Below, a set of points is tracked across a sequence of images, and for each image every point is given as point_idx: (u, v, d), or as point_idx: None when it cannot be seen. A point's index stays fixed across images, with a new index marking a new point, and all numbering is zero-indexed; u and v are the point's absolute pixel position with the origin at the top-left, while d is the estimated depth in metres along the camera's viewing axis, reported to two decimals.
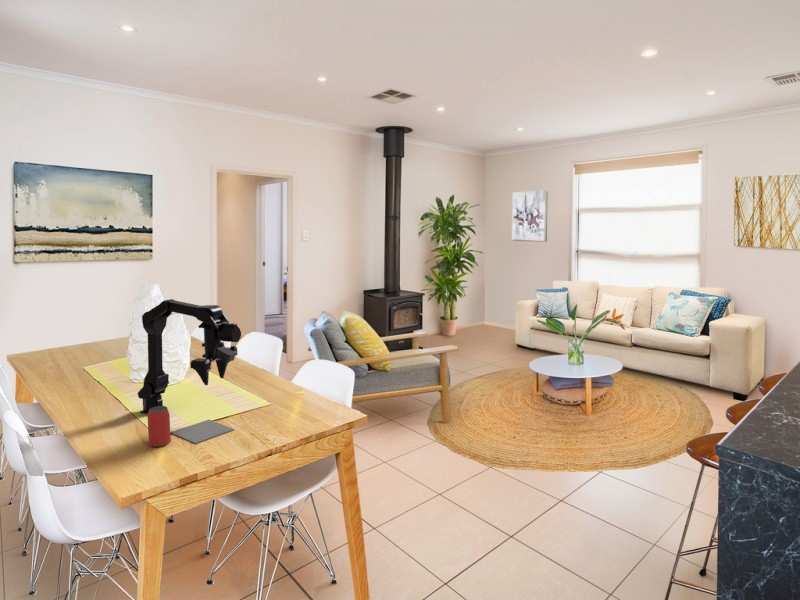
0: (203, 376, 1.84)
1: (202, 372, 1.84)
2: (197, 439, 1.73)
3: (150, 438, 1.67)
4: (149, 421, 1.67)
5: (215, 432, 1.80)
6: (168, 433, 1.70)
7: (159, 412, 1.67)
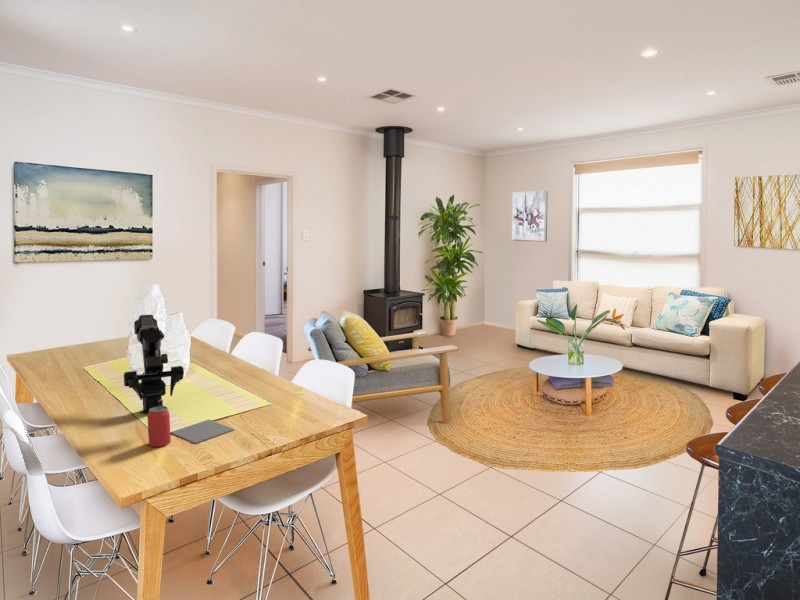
0: (136, 391, 1.74)
1: None
2: (197, 439, 1.73)
3: (150, 438, 1.67)
4: (149, 421, 1.67)
5: (215, 432, 1.80)
6: (168, 433, 1.70)
7: (159, 412, 1.67)
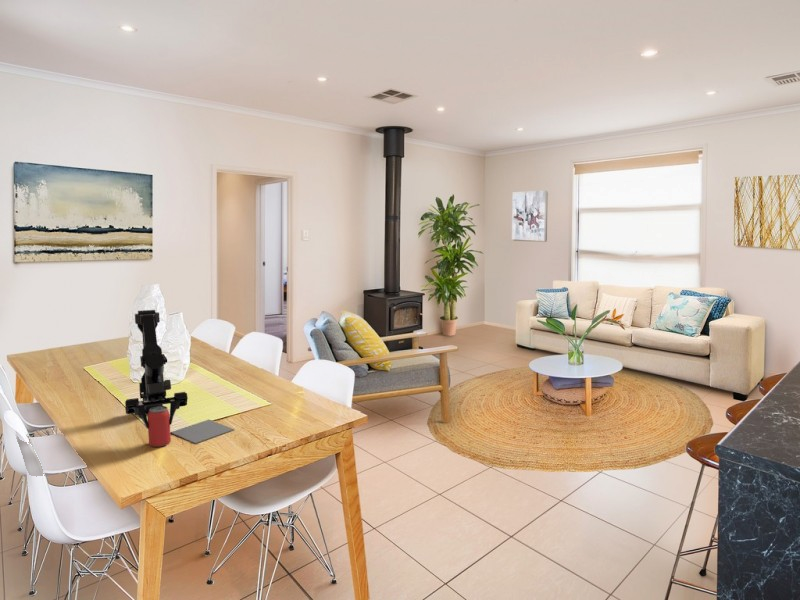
0: (142, 418, 1.68)
1: (142, 415, 1.69)
2: (197, 439, 1.73)
3: (150, 438, 1.67)
4: (149, 421, 1.67)
5: (215, 432, 1.80)
6: (168, 433, 1.70)
7: (159, 412, 1.67)
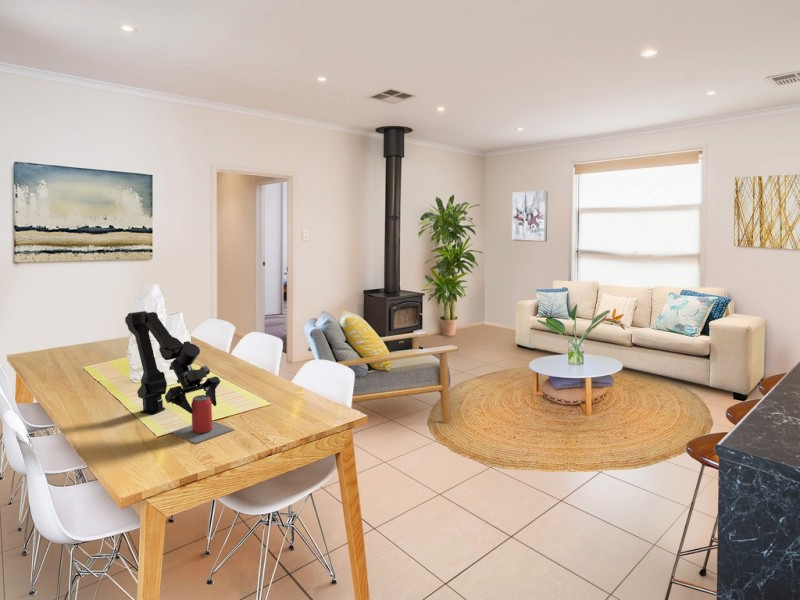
0: (184, 405, 1.75)
1: (181, 402, 1.76)
2: (197, 439, 1.73)
3: (197, 425, 1.77)
4: (196, 409, 1.76)
5: (215, 432, 1.80)
6: (211, 419, 1.81)
7: (206, 400, 1.78)
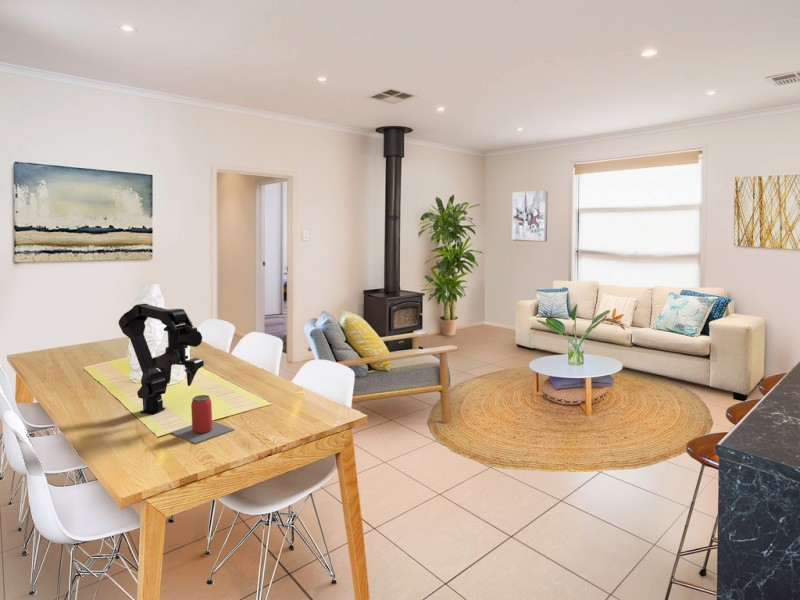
0: None
1: None
2: (197, 439, 1.73)
3: (197, 425, 1.77)
4: (196, 409, 1.76)
5: (215, 432, 1.80)
6: (211, 419, 1.81)
7: (206, 400, 1.78)
